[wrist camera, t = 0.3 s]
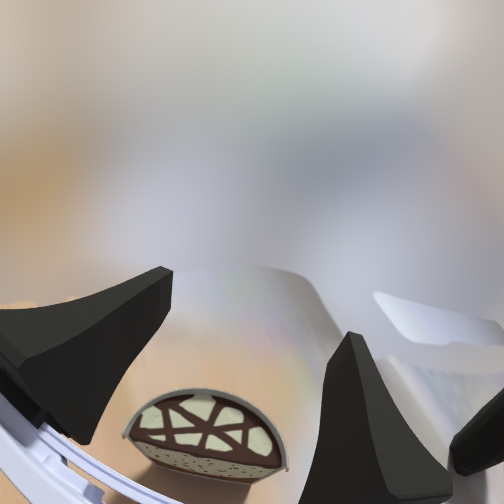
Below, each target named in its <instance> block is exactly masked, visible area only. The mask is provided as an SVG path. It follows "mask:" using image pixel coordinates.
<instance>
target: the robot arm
mask: <svg viewBox="0 0 504 504" xmlns="http://www.w3.org/2000/svg"><path fill="white" fill-rule="evenodd" d="M172 280H173V271H172V270H169V269H167V268H164V267H162V266H159V267H157V268H154V269H152V270H150V271H148V272H145V273H143V274H141V275H139V276H136V277H134V278H132V279H130V280H127V281H125V282H123V283H121V284H118V285H116V286H113V287H111V288H108V289H106V290H103V291H101V292H98V293H96V294H93V295H90V296H87V297H83V298H80V299H76V300H73V301H69V302H65V303H60V304H55V305H50V306H45V307H37V308H28V309H0V470H1V471H2V472H3V473H4V475H5V476H6V477H7V478H8V479H9V481H10V482H11V483H12V484H13V485H14V486H15V487H16V489H17V490H18V491H19V492H20V493H21V494H22V495H23V496H24V497H25V498H26V499H27V500H28V501H29V502H30V504H106V503H105V502H103V501H101V499H102V497H103V495H104V494H105V493H104V491H103V490H101V489H100V488H98V487H97V486H95V485H93V484H92V483H90V482H89V481H87V480H86V479H84V478H83V477H81V476H80V475H78V474H77V473H75V472H74V471H73V470H71V469H70V468H69V467H68V466H67V460H69V461H70V462H71V463H73V464H74V465H76V466H77V467H78V468H80V469H81V470H83V471H84V472H86V473H87V474H89V475H90V476H92V477H93V478H95V479H97V480H98V481H100V482H101V483H103V484H105V485H106V486H108V487H110V488H112V489H113V490H115V491H117V492H119V493H121V494H122V495H124V496H126V497H128V498H130V499H132V500H134V501H136V502H138V503H140V504H183V503H181V502H178V501H176V500H173V499H171V498H168V497H166V496H163V495H161V494H159V493H157V492H154V491H152V490H150V489H148V488H146V487H144V486H142V485H140V484H138V483H136V482H134V481H132V480H130V479H128V478H126V477H124V476H123V475H121V474H119V473H117V472H115V471H114V470H112V469H110V468H109V467H107V466H105V465H104V464H102V463H100V462H99V461H97V460H96V459H94V458H93V457H91V456H89V455H88V454H86V453H85V452H84V451H82V450H81V449H79V448H78V447H76V446H75V445H74V444H72V443H71V442H69V441H68V440H67V439H65V438H64V437H63V436H62V435H61V433H62V434H64V435H65V436H66V437H68V438H72V439H73V440H74V441H76V442H77V443H79V444H80V445H89V444H90V442H91V440H92V437H93V435H94V432H95V430H96V427H97V425H98V423H99V421H100V418H101V416H102V414H103V412H104V410H105V408H106V406H107V404H108V402H109V400H110V398H111V397H112V395H113V393H114V391H115V389H116V387H117V386H118V384H119V382H120V381H121V379H122V377H123V375H124V374H125V372H126V371H127V369H128V368H129V366H130V365H131V363H132V362H133V361H134V360H135V358H136V357H137V356H138V354H139V353H140V352H141V351H142V349H143V348H144V347H145V346H146V344H147V343H148V342H149V340H150V339H151V338H152V337H153V335H154V334H155V333H156V331H157V330H158V329H159V328H160V326H161V324H162V323H163V321H164V319H165V318H166V316H167V314H168V312H169V311H170V309H171V295H172ZM64 457H65V458H66V459H67V460H66V459H65V458H64ZM452 496H453V486H452V474H450V473H449V472H448V471H447V470H446V469H445V468H444V467H443V466H442V465H441V464H440V463H439V462H438V461H437V460H436V459H435V458H434V457H433V456H432V455H431V454H430V453H429V451H428V450H427V449H426V448H425V447H424V446H423V444H422V443H421V442H420V441H419V439H418V438H417V437H416V435H415V434H414V433H413V431H412V430H411V429H410V427H409V426H408V424H407V423H406V421H405V420H404V418H403V416H402V415H401V413H400V412H399V410H398V408H397V407H396V405H395V403H394V401H393V399H392V398H391V396H390V394H389V392H388V390H387V388H386V386H385V384H384V382H383V380H382V378H381V376H380V373H379V371H378V369H377V367H376V365H375V362H374V360H373V358H372V356H371V353H370V351H369V349H368V347H367V344H366V342H365V340H364V338H363V336H362V335H360V334H356V333H353V332H350V331H348V333H347V334H346V336H345V337H344V339H343V340H342V342H341V343H340V345H339V347H338V348H337V350H336V351H335V353H334V354H333V356H332V357H331V359H330V360H329V362H328V363H327V368H326V373H325V378H324V383H323V392H322V404H321V416H320V427H319V435H318V441H317V445H316V450H315V454H314V458H313V461H312V465H311V468H310V472H309V475H308V478H307V481H306V484H305V487H304V490H303V492H302V495H301V498H300V500H299V503H298V504H441V503H443V502H445V501H447V500H449V499H450V498H451V497H452Z"/></svg>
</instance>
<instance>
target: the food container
mask: <svg viewBox="0 0 504 504" xmlns="http://www.w3.org/2000/svg"><path fill="white" fill-rule="evenodd" d="M121 435H122V439H125V437H126V438H127V439H128V440H129V441H130V442H131V443H132V444H133V445H134V446H135V447H136V448H137V449H138V450H139V451H140V452H141V453H142V454H143V455H144V456H146V457H147V458H148V459H149V460H150V461H151V462H152V463H153V464H154V465H155V466H157V467H160V468H164V469H168V470H171V471H175V472H179V473H183V474H188V475H192V476H197V477H202V478H207V479H212V480H218V481H224V482H231V483H239V484H247V485H252V484H255V483H257V482H259V481H261V480H263V479H265V478H267V477H269V476H271V475H273V474H275V473H277V472H279V471H281V470H283V469H284V468H286V472H288V470H289V456H288V452H287V447H286V445H285V442H284V440H283V437H282V435H281V434H280V432H279V430H278V429H277V427H276V426H275V424H274V423H273V422H272V421H271V420H270V419H269V417H268V416H267V415H266V414H264V413H263V412H262V411H261V410H260V409H259V408H257V407H256V406H255V405H253V404H252V403H250V402H249V401H247V400H245V399H243V398H241V397H239V396H236V395H234V394H231V393H228V392H225V391H221V390H217V389H209V388H184V389H178V390H174V391H169V392H167V393H164V394H161V395H159V396H157V397H155V398H153V399H151V400H149V401H148V402H147V403H145V404H144V405H143V406H141V407H140V408H139V409H138V410H137V411H136V412H135V413H134V414H133V415H132V417H131V418H130V419H129V421H128V422H127V424H126V425H125V427H124V430H123V432H122V434H121Z"/></svg>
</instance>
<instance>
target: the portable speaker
mask: <svg viewBox="0 0 504 504" xmlns="http://www.w3.org/2000/svg"><path fill="white" fill-rule="evenodd" d="M450 447H451V448H452V449H453V452H454V455H455V460H456V463H457V466H456V468H455V470H456V472H457V473H458V474H461V475H464V476H468V475H471V474H474V473H476V472H480V471H483V470H485V469H488V468H490V467H492V466H495V465H497V464H499V463H501V462H503V461H504V388H503V389H502V390H501V391H500V392H499V393H498V394H497V395H496V396H495V397H494V398H493V399H491V400H490V401H489V402H488V403H487V404H486V405H485V406H484V407H482V408H481V409H480V410H479V412H478V413H477V414H476V415H475V416H474V417H473V418H472V419H471V420H470V421H469V422H468V423H467V424H466V425H465V427H464V428H463V429H462V430H461V431H460V432H459V433H457V434H456V435H455V436H454V438H453V440H452V443H451V445H450Z"/></svg>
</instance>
